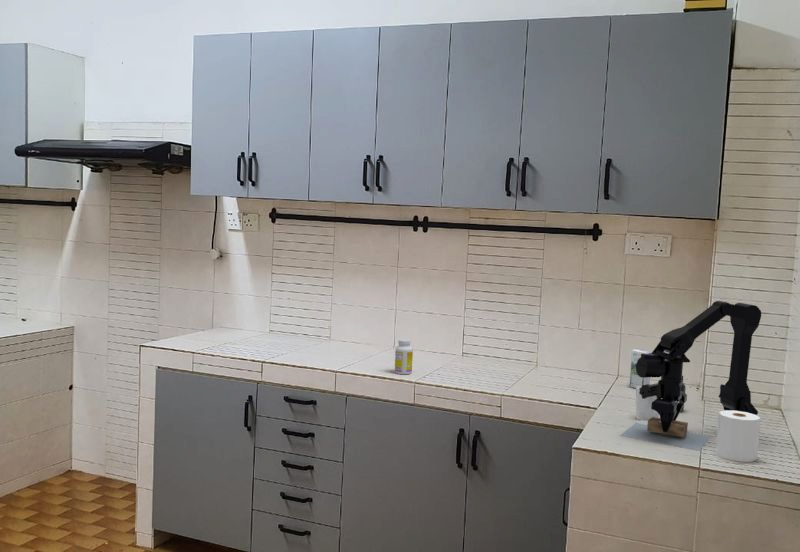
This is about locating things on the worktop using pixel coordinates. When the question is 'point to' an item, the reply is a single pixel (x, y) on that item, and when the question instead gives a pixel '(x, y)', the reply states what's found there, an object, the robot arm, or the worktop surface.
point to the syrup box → (634, 377)
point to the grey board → (666, 437)
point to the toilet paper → (737, 435)
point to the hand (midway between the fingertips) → (667, 429)
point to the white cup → (644, 406)
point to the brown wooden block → (675, 428)
